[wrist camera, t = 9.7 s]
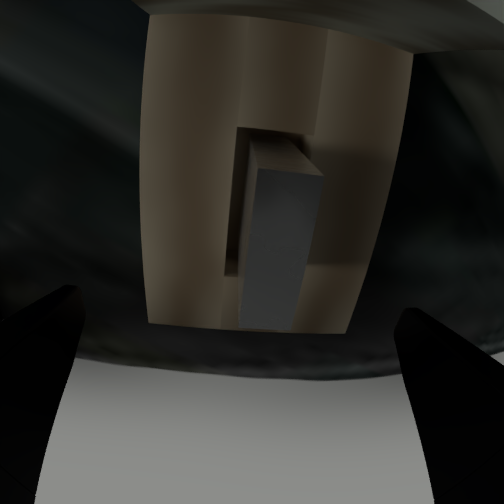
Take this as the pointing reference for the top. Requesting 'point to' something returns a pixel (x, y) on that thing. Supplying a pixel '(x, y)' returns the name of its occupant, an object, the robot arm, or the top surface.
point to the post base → (278, 135)
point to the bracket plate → (274, 231)
